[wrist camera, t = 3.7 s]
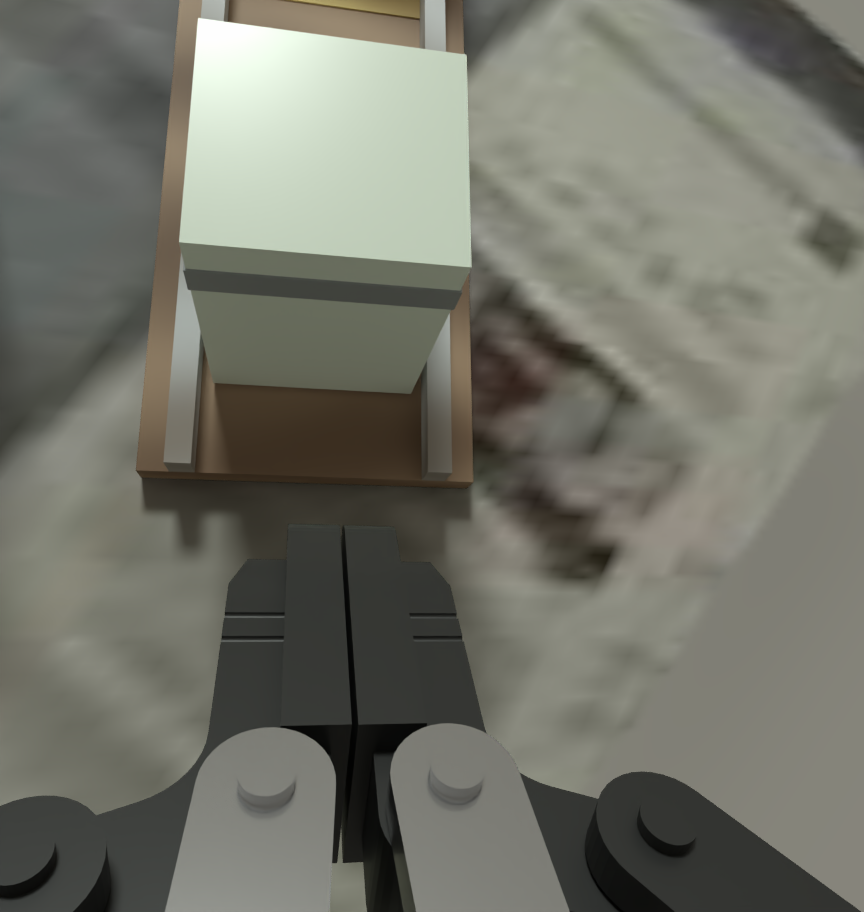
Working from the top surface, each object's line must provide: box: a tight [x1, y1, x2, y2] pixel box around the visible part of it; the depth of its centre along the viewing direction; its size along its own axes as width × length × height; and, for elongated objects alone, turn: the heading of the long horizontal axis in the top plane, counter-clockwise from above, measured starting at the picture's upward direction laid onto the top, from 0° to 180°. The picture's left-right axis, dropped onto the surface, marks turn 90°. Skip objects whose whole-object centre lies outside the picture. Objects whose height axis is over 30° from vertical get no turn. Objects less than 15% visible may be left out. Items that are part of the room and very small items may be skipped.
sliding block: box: [179, 18, 471, 394], centre depth 23 cm, size 6×7×9 cm
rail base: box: [136, 0, 473, 488], centre depth 27 cm, size 28×11×7 cm, turn 1°
